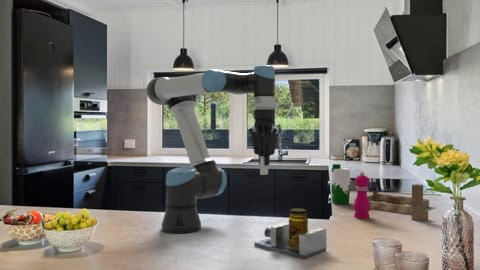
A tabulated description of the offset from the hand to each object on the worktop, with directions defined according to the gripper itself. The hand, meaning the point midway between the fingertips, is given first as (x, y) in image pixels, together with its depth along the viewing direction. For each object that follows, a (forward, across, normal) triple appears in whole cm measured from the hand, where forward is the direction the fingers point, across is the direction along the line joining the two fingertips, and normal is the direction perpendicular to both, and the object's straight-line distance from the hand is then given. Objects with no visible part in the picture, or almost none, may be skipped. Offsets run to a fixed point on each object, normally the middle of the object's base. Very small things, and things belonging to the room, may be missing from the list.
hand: (264, 174), depth 151 cm
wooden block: (+23, +31, +66) cm, 76 cm away
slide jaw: (+21, +11, -6) cm, 24 cm away
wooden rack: (+23, +9, +88) cm, 92 cm away
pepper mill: (+23, +11, +53) cm, 59 cm away
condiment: (+21, +19, -5) cm, 29 cm away
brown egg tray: (+22, +10, +86) cm, 90 cm away
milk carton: (+23, -13, +76) cm, 80 cm away
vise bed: (+22, +16, -6) cm, 28 cm away
